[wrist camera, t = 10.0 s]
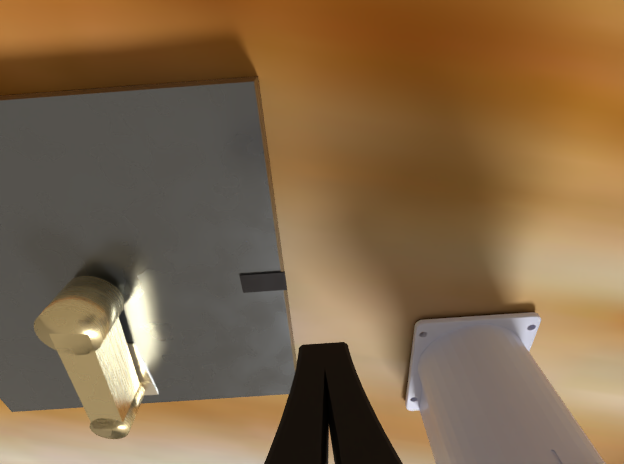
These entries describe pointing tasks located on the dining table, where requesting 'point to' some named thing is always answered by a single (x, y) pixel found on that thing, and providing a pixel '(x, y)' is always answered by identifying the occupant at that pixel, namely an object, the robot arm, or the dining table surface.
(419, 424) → the dining table surface
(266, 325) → the lock plate
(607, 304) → the dining table surface
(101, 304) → the lever
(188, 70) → the dining table surface
